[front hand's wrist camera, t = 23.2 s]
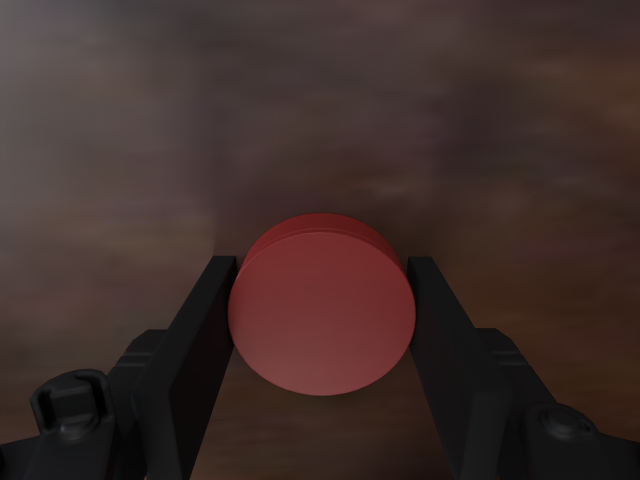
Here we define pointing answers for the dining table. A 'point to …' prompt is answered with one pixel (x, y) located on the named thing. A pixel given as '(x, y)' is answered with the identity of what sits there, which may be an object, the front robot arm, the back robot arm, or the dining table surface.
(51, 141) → the dining table surface
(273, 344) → the lid
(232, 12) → the dining table surface
